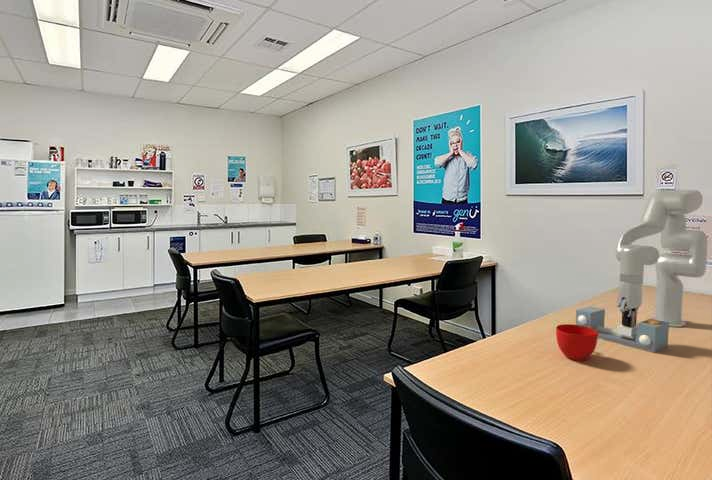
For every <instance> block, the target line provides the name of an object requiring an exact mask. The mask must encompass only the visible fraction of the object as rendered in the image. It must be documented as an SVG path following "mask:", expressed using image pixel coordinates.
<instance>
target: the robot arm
mask: <svg viewBox="0 0 712 480" xmlns="http://www.w3.org/2000/svg"><path fill="white" fill-rule="evenodd" d="M702 205H703V195H702V193H701V191H699V190H698V189H683V190H682V189H681V190H680V189H678V190H677V189H675V190H674V189H672V190H671V189H669V190H659V191H656V192H653V194H652V195H651V196H649V198H648V199H647V202H646V205H645V208H644V211H643V213H642V216H641V219H640V221H639V222H638V223H637V224H635V225H634V226H632V227H630V228H629V229H627V230H626V231H625V232H624V233H623V234H622V235H621V237H620V239H619V241H618V243H617V245H616V249H615V258H616V260H617V261H618V262H620V269H619V284H618V289H617V297H616V307H617V308H619V312H621V325H623V326H628V327H631V322H632V317H630V316H631V311H636V317H635V325H637V318H638V317H637V316H638V310H639V308H640V307H641V306H642V303H643V287H642V285H643V284H644V269H645V268H644V267H645V266H653V265H655V271H656V287H655V288H656V289H655V308H654V316H651V317H650V318H649V319H655V320H659V321H664V322H669V327H672V328H673V327H674V328H680V327H686V325H687V324H686V323H687V322H686V321H684V320H682V317H683V297H684V284H683V282H682V280H681V279H680V277H686V278H687V277H688V278H702V277H703V276H705V273H706V271H707V261H708V259H707V257H708V237H707V234H706V233H705V232H704V231H703V230H699V229H698V230H697V229H687V228H686V222H687V221H686V220H687V218H686V216H685V215H688V214H691V213H693V212H695V211H697V210H699V209H700V207H701V206H702ZM657 234H660V246H661V248H662V249H664V250H667V251H674V252H675V251H676V252H684V253H685V252H688V253H690V254H684V253H683V254H682V253H671V252H668V253H667V252H666V253H661V254H660V252H659V250H658V249H657V248H656V247H654V246H649V245H640V244H639V245H638V244H633V243H635V241H638V240H640V239H643V238H647V237H650V236H653V235H657ZM627 310H628V311H627Z"/></svg>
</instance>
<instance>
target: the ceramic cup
mask: <svg viewBox="0 0 712 480" xmlns="http://www.w3.org/2000/svg"><path fill="white" fill-rule="evenodd" d="M555 332H556V333H555V335H556V343H557V345H558V347H559V350H560V351H561V352H562V354H563V355H564V357H566V358H568V359H570V360H572V361H579V362H580V361H585V360H587V359H588V358H590V357H591V356H592V354H593V353H594V352H595V350H596V346H597V344H598V339H599V338H598V332H597V331H596V330H595V329H592V328H589V327H586V326H581V325H576V324H573V323H572V324H571V323H569V324H567V323H566V324H565V323H563V324H560V325H559V324H558V325H557V326H556V327H555Z"/></svg>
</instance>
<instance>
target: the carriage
mask: <svg viewBox="0 0 712 480" xmlns="http://www.w3.org/2000/svg"><path fill="white" fill-rule="evenodd" d="M627 311H628V310H627ZM630 317H632V322H631V327H628V326H623V325H622V324H619V325H617V327H616V328H617V329H616V330H617V333H618V334H619V336H623V337H627V338H631V339H633V338H634V336H635V335H636V334H637V324H636V325H635V317H636V311H631V316H630Z"/></svg>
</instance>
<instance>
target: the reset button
mask: <svg viewBox="0 0 712 480" xmlns="http://www.w3.org/2000/svg"><path fill="white" fill-rule="evenodd" d="M647 323H649V324H653V325H659V320H655V319H650V318H648V319H647Z"/></svg>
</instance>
